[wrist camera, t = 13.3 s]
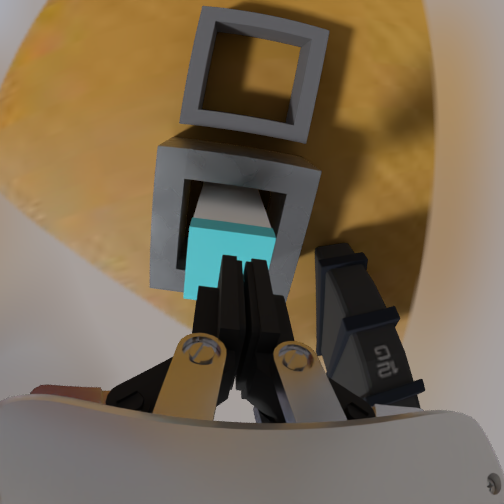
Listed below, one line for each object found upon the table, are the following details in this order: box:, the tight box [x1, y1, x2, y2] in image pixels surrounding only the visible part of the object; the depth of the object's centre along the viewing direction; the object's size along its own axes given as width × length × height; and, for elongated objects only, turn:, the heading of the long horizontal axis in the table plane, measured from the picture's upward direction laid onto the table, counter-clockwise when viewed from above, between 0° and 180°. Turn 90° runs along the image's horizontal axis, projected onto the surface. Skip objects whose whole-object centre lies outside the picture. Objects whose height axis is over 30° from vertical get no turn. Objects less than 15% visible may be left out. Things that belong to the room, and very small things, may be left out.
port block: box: [150, 137, 322, 302], centre depth 21 cm, size 10×10×5 cm
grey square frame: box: [179, 6, 329, 144], centre depth 17 cm, size 8×8×3 cm
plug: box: [183, 181, 276, 300], centre depth 19 cm, size 4×4×9 cm
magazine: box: [315, 243, 425, 409], centre depth 23 cm, size 4×13×15 cm, turn 8°
